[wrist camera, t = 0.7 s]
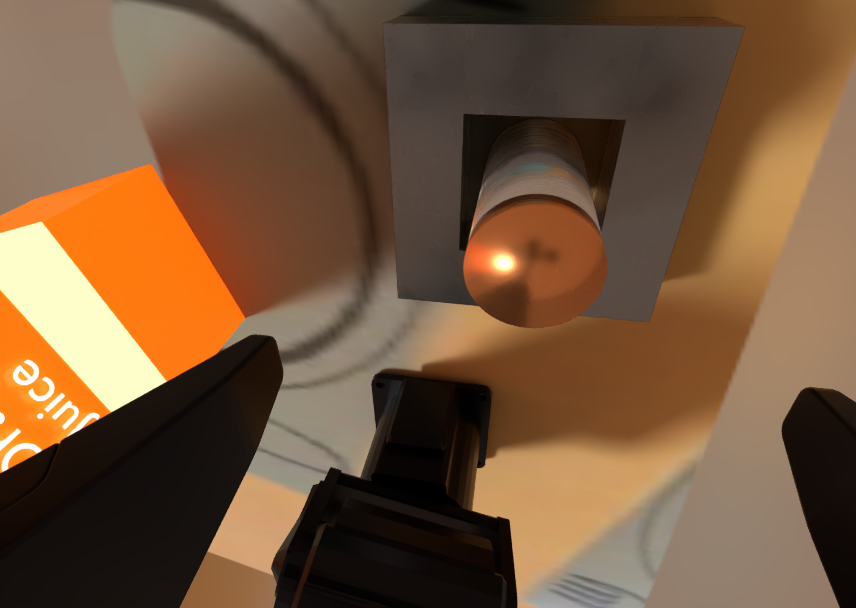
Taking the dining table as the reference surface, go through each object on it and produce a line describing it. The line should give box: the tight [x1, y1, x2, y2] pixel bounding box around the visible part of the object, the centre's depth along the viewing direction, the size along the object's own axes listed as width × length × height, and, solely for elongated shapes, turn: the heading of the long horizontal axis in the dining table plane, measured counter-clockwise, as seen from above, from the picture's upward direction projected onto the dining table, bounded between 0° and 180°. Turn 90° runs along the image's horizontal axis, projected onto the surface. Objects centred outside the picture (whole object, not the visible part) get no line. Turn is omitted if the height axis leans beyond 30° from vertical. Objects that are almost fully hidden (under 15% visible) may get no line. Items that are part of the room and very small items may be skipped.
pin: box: [463, 118, 607, 328], centre depth 16 cm, size 4×4×8 cm
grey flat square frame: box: [383, 15, 745, 322], centre depth 18 cm, size 10×10×2 cm
